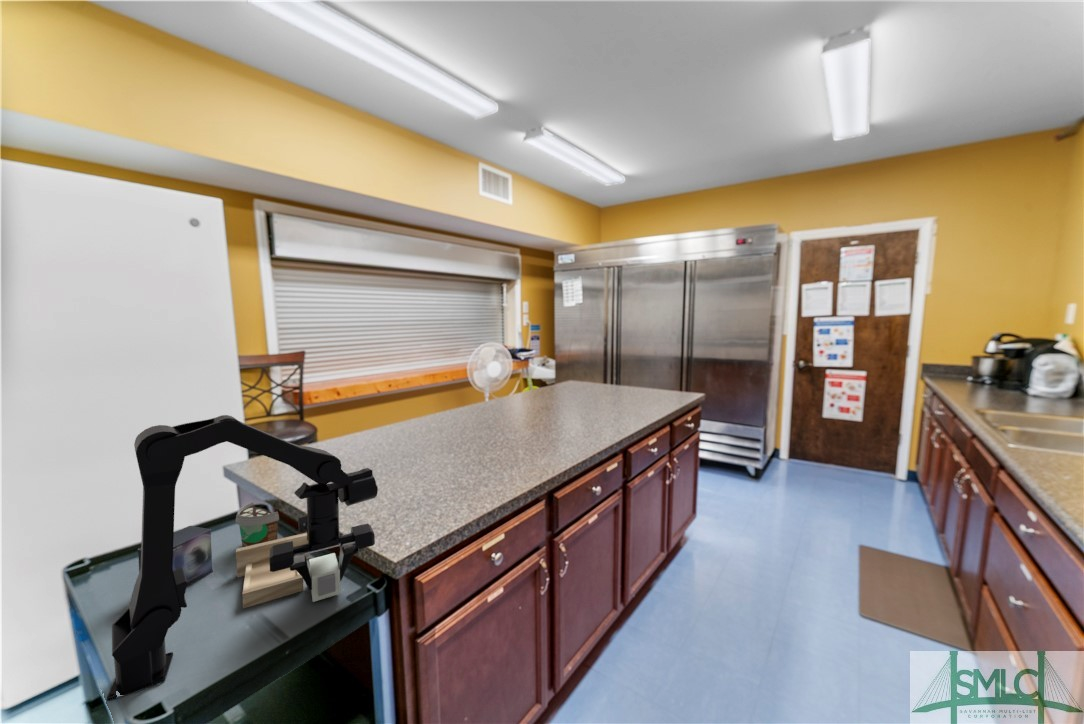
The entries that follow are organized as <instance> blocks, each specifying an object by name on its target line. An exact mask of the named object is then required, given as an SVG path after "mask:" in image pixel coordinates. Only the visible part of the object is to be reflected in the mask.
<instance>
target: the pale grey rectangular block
mask: <svg viewBox="0 0 1084 724" xmlns="http://www.w3.org/2000/svg"><path fill="white" fill-rule="evenodd" d="M308 566H309V571H310V576H311V582H312V590H310V591H311V597H312V598H311V599H312V600H311V601H312V602H313V603H314V602H317V601H320V600H321V601H322V600H324V599H328V598H331V597H333V596H337V595H340V594H341V581H340V569H339V561H338V559H337V555H336V553H335V552H332V553H329V554H325V555H322V556H317V557H313V558H309V559H308Z"/></svg>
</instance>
